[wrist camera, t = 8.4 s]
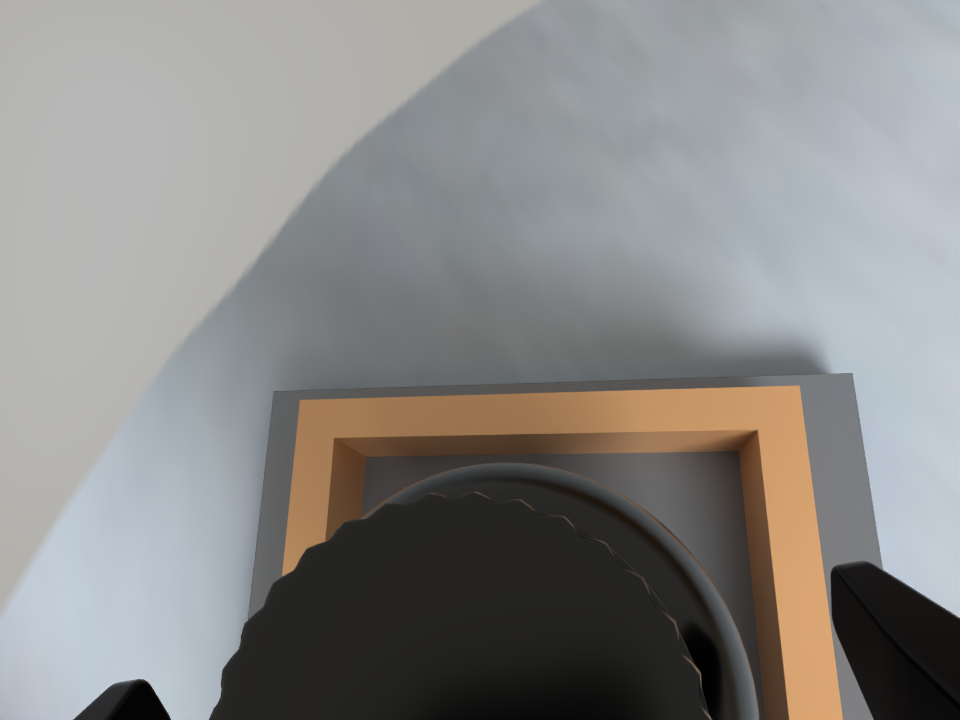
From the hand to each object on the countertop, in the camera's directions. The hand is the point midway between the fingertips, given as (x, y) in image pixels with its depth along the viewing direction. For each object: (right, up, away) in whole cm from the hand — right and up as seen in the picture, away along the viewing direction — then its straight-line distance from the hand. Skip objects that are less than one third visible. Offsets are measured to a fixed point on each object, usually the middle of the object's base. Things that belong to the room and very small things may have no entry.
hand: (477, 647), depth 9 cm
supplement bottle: (+2, -4, +8) cm, 10 cm away
